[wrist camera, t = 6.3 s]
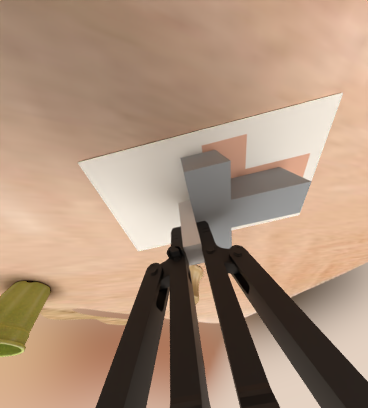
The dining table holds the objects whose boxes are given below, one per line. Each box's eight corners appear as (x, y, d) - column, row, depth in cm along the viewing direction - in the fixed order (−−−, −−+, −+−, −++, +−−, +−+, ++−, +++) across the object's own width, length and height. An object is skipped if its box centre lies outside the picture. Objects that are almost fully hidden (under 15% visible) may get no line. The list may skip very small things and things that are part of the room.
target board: (78, 162, 14) (77, 162, 14) (341, 92, 13) (343, 92, 13) (138, 250, 23) (138, 251, 23) (298, 214, 22) (299, 215, 22)
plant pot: (40, 301, 30) (-1, 360, 23) (-10, 285, 25) (-83, 353, 18) (71, 289, 28) (38, 348, 21) (24, 269, 23) (-40, 337, 16)
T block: (180, 158, 15) (184, 172, 11) (286, 131, 14) (327, 137, 11) (196, 230, 22) (202, 254, 18) (269, 214, 21) (291, 235, 17)
